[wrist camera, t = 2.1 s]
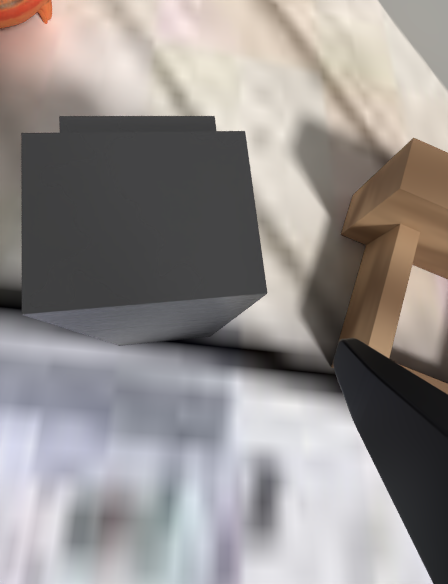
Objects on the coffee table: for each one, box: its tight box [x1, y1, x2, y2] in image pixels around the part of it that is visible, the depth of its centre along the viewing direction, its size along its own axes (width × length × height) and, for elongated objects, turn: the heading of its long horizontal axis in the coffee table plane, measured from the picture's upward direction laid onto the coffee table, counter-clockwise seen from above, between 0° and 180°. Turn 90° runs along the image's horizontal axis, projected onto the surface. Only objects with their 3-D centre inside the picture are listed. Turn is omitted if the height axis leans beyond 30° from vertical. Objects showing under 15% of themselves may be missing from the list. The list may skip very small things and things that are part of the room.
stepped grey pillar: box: [21, 116, 267, 346], centre depth 14 cm, size 5×5×12 cm
